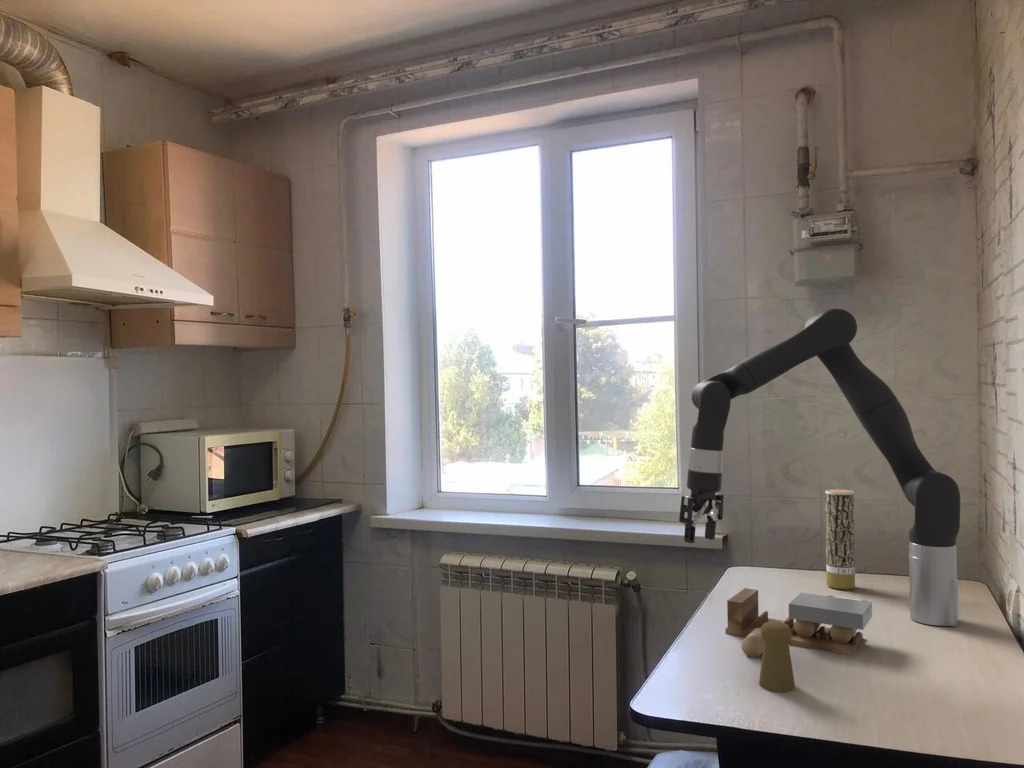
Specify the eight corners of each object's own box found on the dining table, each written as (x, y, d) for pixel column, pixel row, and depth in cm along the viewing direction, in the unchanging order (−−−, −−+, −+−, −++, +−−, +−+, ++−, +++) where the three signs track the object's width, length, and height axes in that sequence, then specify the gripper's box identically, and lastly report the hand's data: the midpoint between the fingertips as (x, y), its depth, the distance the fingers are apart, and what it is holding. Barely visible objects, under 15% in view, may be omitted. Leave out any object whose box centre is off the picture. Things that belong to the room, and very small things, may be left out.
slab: (872, 616, 157) (871, 602, 157) (863, 629, 148) (862, 614, 148) (801, 606, 164) (801, 592, 164) (789, 618, 156) (788, 603, 156)
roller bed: (864, 638, 158) (863, 604, 158) (853, 655, 148) (852, 619, 148) (743, 618, 173) (742, 587, 173) (725, 633, 163) (725, 600, 163)
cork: (766, 676, 138) (765, 615, 138) (800, 684, 135) (799, 622, 135) (753, 686, 134) (752, 624, 134) (788, 695, 130) (787, 630, 130)
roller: (771, 649, 153) (771, 629, 153) (762, 659, 147) (761, 639, 147) (751, 646, 155) (751, 626, 155) (741, 655, 149) (741, 635, 149)
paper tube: (820, 585, 200) (819, 490, 200) (839, 582, 203) (838, 488, 203) (842, 591, 194) (840, 493, 194) (861, 588, 197) (859, 491, 197)
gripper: (702, 472, 164) (696, 547, 164) (736, 470, 174) (730, 541, 174) (673, 467, 169) (667, 540, 170) (707, 466, 179) (702, 534, 179)
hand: (699, 540), depth 172 cm, fingers open, 8 cm apart
